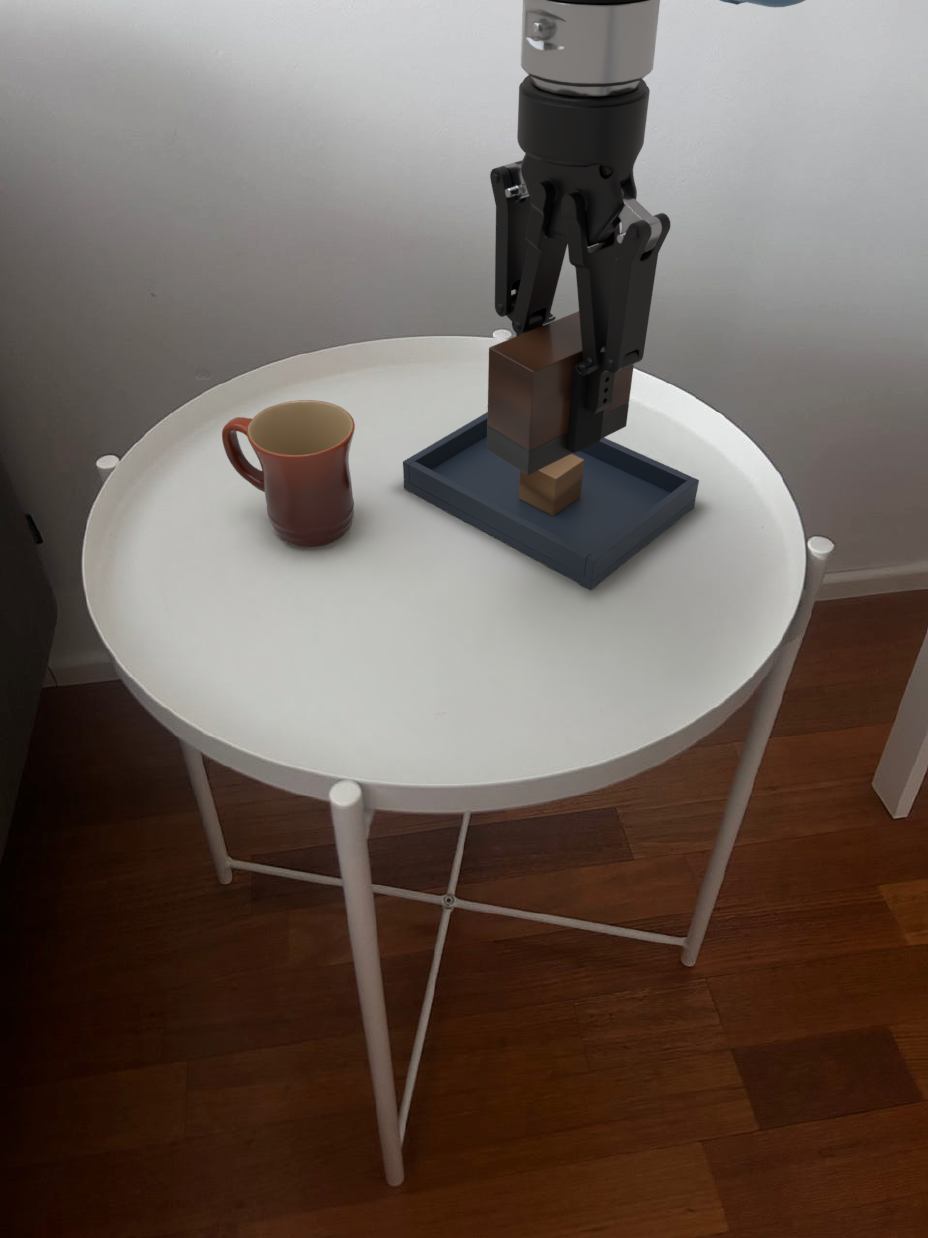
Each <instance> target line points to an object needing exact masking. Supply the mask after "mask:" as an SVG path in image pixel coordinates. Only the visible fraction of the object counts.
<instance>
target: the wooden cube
mask: <svg viewBox="0 0 928 1238" xmlns="http://www.w3.org/2000/svg"><path fill="white" fill-rule="evenodd" d="M583 467H584V459H581V458H579V457H577V456H575V455H573V454H570V455H568V456H566V457H564V458H562V459H560V460H558V461H556V462H554V463H552V464H550V465H548V466H546V467H544V468H542V469H540V470H538V471H536V472H534V473H532V474H530V475H527V474H525V473H523V472H522V471H520V485H519V499H521V500H523V501H525V502H527V503H529V504H531V505H532V506H534V507H536V508H538V509H540V510H542V511H544V512H546V513H548V514H550V515H552V516H554V515H556V514H557V513H559V512H560V511H561V510H563V509H564V508H566V507H567V506H568V505H570V504H571V503H573V502H574V501H575V500H577V499H578V498H580V497H581V487H582V477H583Z"/></svg>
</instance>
